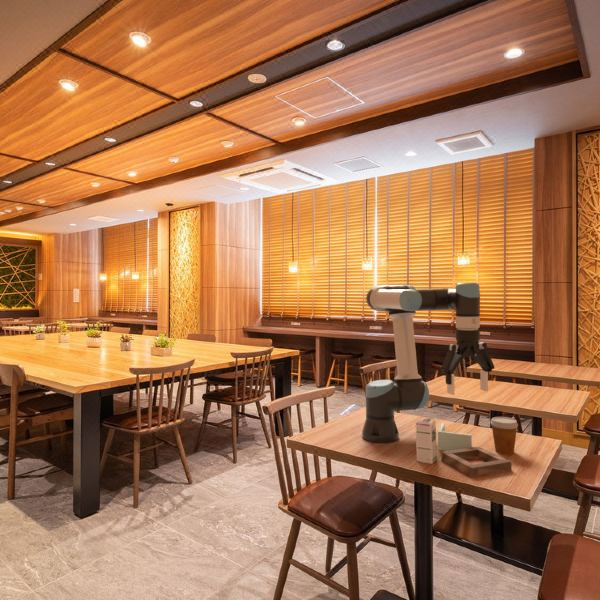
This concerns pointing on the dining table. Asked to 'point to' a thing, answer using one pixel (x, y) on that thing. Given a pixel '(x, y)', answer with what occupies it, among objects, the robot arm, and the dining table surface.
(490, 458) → the socket block
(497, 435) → the disposable coffee cup
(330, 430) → the dining table surface
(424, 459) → the syrup box
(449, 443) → the l-shaped corner panel
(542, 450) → the dining table surface
